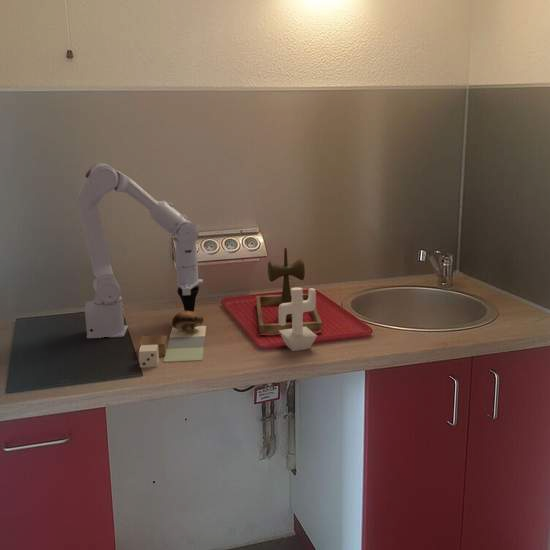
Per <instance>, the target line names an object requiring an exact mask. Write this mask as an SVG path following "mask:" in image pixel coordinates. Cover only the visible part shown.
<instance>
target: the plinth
mask: <svg viewBox="0 0 550 550" xmlns="http://www.w3.org/2000/svg"><path fill="white" fill-rule="evenodd" d="M140 339H141V340H140V342H139V344H138V347H139V349H140V346H141V345H158V351H159V357H165V354H166V350H167V346H168V335H147V336H146V335H145V336H143V335H142V336H141V338H140Z"/></svg>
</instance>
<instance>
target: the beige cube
mask: <svg viewBox="0 0 550 550" xmlns="http://www.w3.org/2000/svg"><path fill="white" fill-rule="evenodd" d="M138 358H139V359H138V360H139V368H140V367H141V368H155V367H156V368H157V367H159V362H160V356H159V351H158V345H141V346H140V349H139V350H138Z"/></svg>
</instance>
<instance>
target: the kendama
mask: <svg viewBox="0 0 550 550" xmlns="http://www.w3.org/2000/svg"><path fill="white" fill-rule="evenodd" d="M305 273H306V269H305V263H304V260H303V259H302V258H298V259H297V260H295V261H294V262H293V263H291V264H288V249H287V247H284V250H283V265H281V264H278V263H275V262H273V261H271V260H270V261H268V263H267V275H268V276H267V277H268V280H269V281H270V282H272V283H273V282H274V281H276V280H277V279H279V278H282V277H283V282H282V283H283V284H282V290H281V291H282V292H281V295H282V297H281V299H280V300H279V301H278V303H279V304H282V303H290V302H291V301H292V296H291V287H290V277H289V276H291V277H295V278H296V279H298V280H300V281H304V279H305ZM277 318H278V319H279V317H278V316H277ZM290 320H291V321H292V314H287V315H286V321H290Z"/></svg>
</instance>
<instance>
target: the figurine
mask: <svg viewBox="0 0 550 550" xmlns="http://www.w3.org/2000/svg"><path fill="white" fill-rule="evenodd" d="M290 291H291V296H292V301H291V302H290V303H282V304H280V305H278V312H277V313H278V314H277V318H278V317H279V318H278V323H279V325H281V326H285V325H286V323H287V320H286V315H287V314H292V319H291V323H292V328H291V329H284V330H279V332H280V334H281V335H280V337H282V340H283V341H284V343H286V344H285V345H286V346H287V348H288V349H290V350H291V352H297V351H298V352H299V351H303V350H308V349H309V350H310V348H311V347H312V346H313V344H314V342H315V340H316V339H317V337H318V335H317V333H313V332H312V331H311V330H310V329H308V328H307V327H306V326H305V327H303V322H304V317H303V315H304V313H307V312H310V311H313V310H314V309H315V307H316V306H317V304H316V303H317V292H316V289H315V288H312V287H311V288H309V289H308V293H307V294H308V300H305V301H303V298H302V297H303V294H304V291H303V287H292V288H290ZM316 308H317V307H316Z"/></svg>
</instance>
